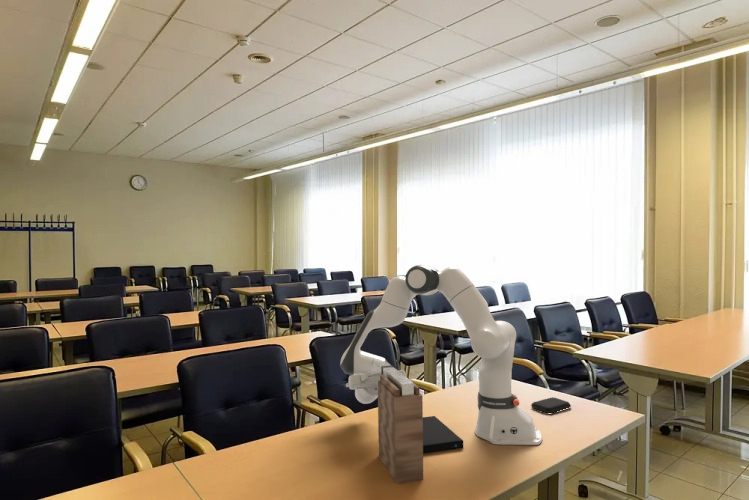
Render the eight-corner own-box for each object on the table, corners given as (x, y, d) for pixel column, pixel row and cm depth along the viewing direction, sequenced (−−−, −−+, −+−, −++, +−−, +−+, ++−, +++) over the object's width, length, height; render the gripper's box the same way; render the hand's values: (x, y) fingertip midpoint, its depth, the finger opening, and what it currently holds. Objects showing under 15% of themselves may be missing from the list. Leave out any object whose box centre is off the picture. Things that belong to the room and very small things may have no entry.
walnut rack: (378, 456, 149) (377, 374, 149) (402, 452, 151) (401, 372, 151) (396, 483, 132) (395, 391, 132) (423, 479, 134) (422, 388, 134)
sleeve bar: (376, 373, 158) (376, 362, 158) (387, 372, 159) (387, 361, 159) (401, 397, 133) (401, 383, 133) (414, 395, 134) (414, 382, 134)
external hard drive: (435, 423, 177) (435, 415, 177) (463, 449, 154) (463, 440, 154) (399, 428, 173) (399, 420, 173) (423, 455, 150) (423, 445, 150)
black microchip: (550, 402, 199) (527, 408, 192) (550, 394, 199) (526, 401, 192) (573, 409, 190) (548, 416, 183) (572, 401, 190) (548, 408, 183)
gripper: (343, 378, 169) (350, 366, 157) (397, 372, 174) (408, 361, 163) (345, 395, 166) (353, 385, 154) (400, 390, 171) (411, 379, 160)
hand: (382, 373), depth 159 cm, fingers open, 8 cm apart
